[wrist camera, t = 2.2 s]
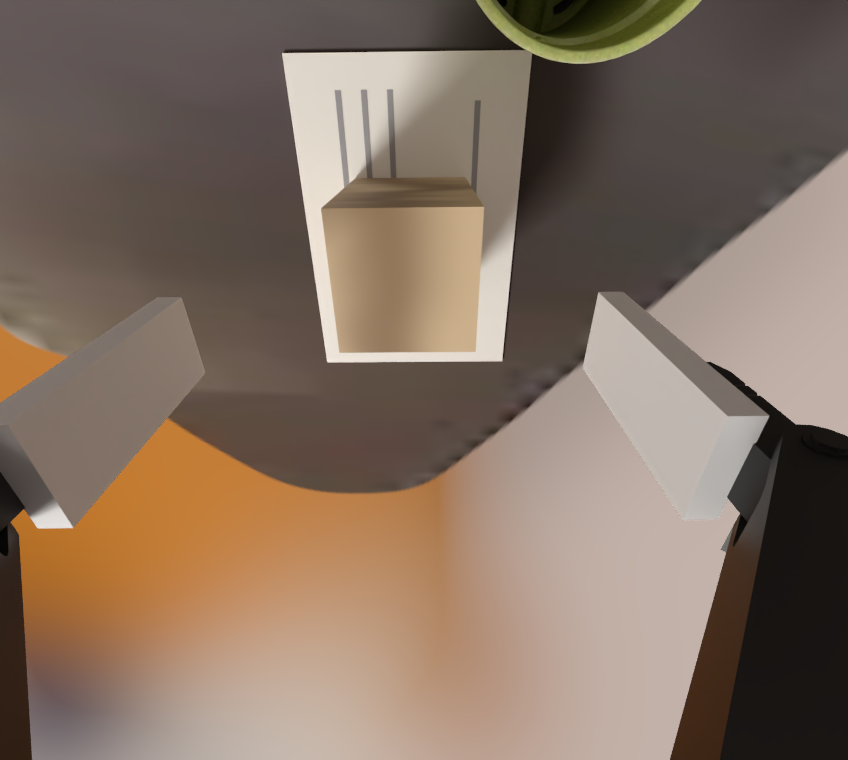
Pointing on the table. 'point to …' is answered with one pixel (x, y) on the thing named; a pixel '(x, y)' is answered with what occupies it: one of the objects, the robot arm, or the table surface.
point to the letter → (414, 154)
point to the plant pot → (585, 26)
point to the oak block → (405, 264)
